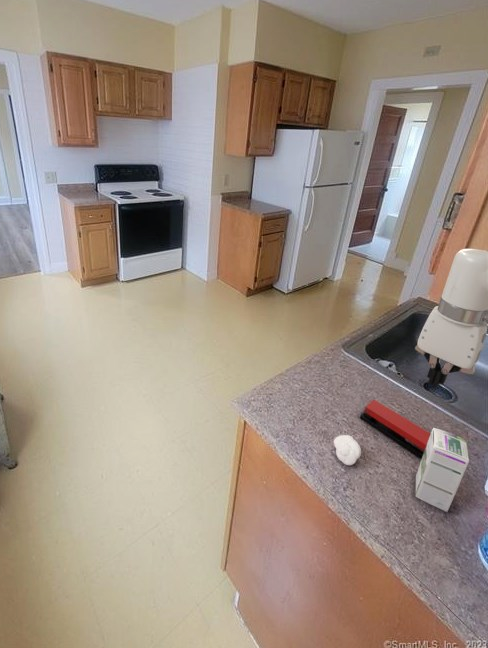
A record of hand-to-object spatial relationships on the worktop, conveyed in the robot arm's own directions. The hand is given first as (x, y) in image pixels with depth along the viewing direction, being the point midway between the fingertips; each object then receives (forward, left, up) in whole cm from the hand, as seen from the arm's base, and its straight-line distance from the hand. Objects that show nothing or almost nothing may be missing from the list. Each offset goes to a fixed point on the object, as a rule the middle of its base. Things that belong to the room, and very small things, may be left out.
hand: (434, 382), depth 71 cm
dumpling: (+8, +16, -19) cm, 26 cm away
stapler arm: (+4, 0, -16) cm, 17 cm away
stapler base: (+4, 0, -19) cm, 19 cm away
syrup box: (-7, +10, -19) cm, 23 cm away
